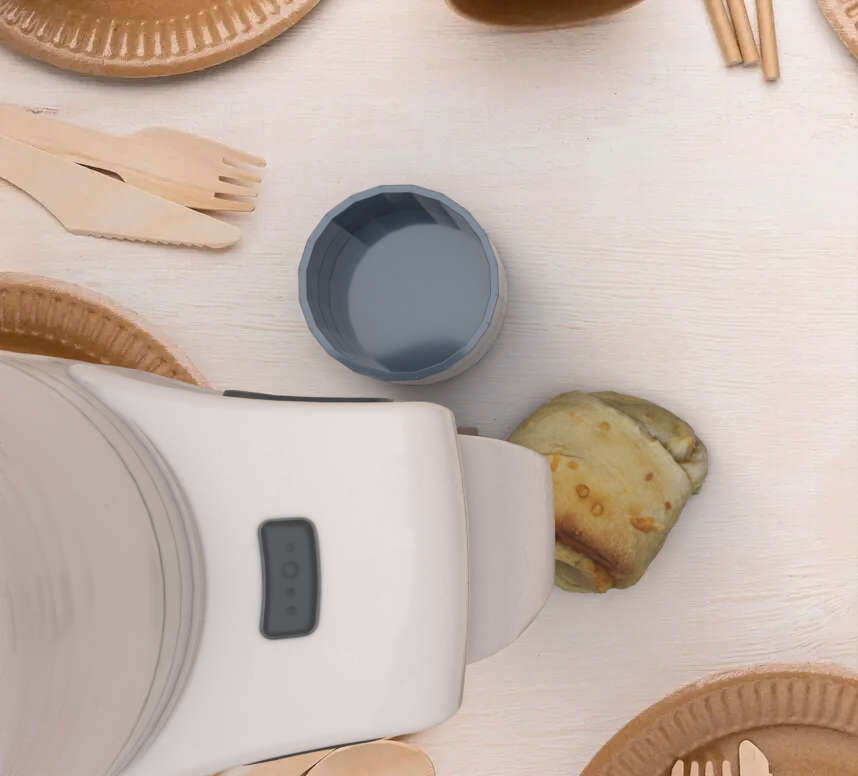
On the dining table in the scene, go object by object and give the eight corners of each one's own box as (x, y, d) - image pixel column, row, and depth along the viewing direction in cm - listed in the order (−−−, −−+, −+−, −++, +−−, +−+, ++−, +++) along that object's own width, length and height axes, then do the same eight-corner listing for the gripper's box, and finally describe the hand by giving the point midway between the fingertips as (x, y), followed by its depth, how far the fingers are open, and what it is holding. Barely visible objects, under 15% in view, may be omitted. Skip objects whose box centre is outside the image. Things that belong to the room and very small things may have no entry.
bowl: (327, 388, 66) (300, 384, 60) (322, 206, 66) (295, 186, 61) (511, 381, 67) (501, 377, 61) (505, 202, 67) (495, 182, 62)
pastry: (484, 592, 66) (466, 615, 58) (481, 393, 66) (462, 388, 58) (709, 584, 67) (721, 605, 59) (703, 388, 67) (715, 382, 59)
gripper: (-607, 787, 19) (-93, 637, 33) (534, 723, 20) (568, 605, 34) (-604, 438, 19) (-94, 435, 33) (524, 398, 21) (561, 411, 34)
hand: (248, 521), depth 34 cm, fingers open, 8 cm apart
